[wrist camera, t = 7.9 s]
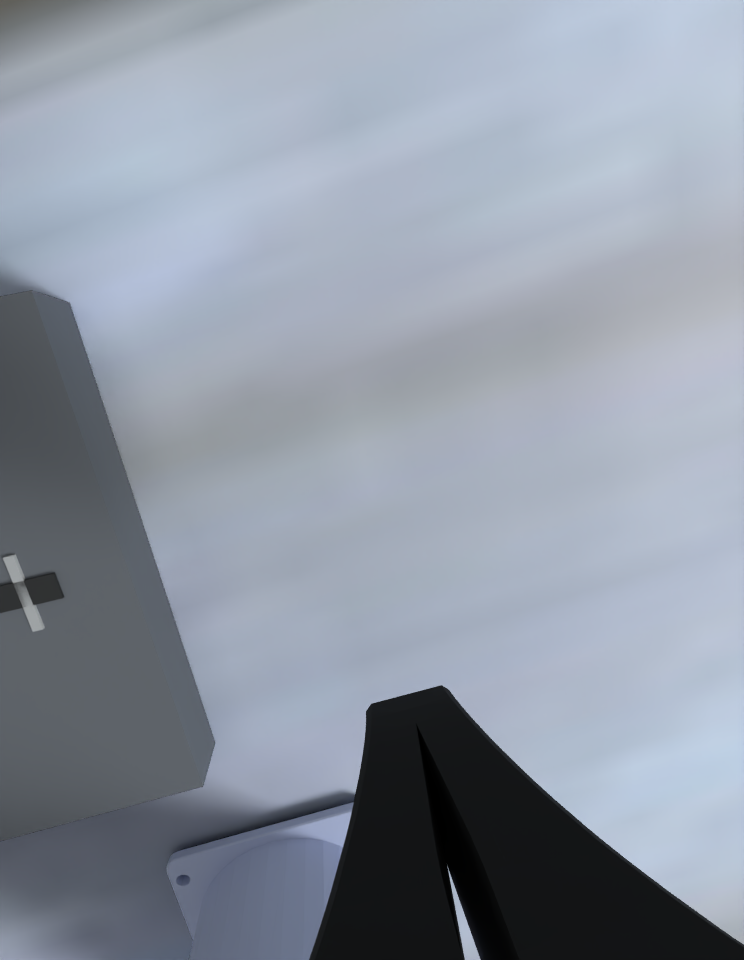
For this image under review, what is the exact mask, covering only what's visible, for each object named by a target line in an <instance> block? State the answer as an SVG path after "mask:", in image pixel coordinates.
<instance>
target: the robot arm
mask: <svg viewBox="0 0 744 960" xmlns="http://www.w3.org/2000/svg"><path fill="white" fill-rule="evenodd" d="M447 866H448V868H449V871H450V874H451V877H452V880H453V883H454V885H455V888H456V891H457V894H458V897H459V900H460V902H461V905H462V908H463V911H464V914H465V917H466V919H467V922H468V925H469V928H470V931H471V933H472V936H473V939H474V942H475V945H476V948H477V950H478V953H479V956H480V959H481V960H744V945H743V944H742V943H740V942H739V941H737V940H736V939H734V938H733V937H731V936H730V935H728V934H727V933H726V932H724V931H723V930H721V929H720V928H719V927H717V926H716V925H714V924H713V923H712V922H710V921H709V920H707V919H706V918H705V917H703V916H702V915H700V914H699V913H698V912H696V911H695V910H694V909H692V908H691V907H689V906H688V905H687V904H685V903H684V902H682V901H681V900H680V899H678V898H677V897H675V896H674V895H673V894H671V893H670V892H669V891H667V890H666V889H665V888H663V887H662V886H661V885H659V884H658V883H657V882H655V881H654V880H653V879H651V878H650V877H649V876H647V875H646V874H645V873H644V872H642V871H641V870H640V869H638V868H637V867H636V866H634V865H633V864H632V863H630V862H629V861H628V860H626V859H625V858H624V857H623V856H621V855H620V854H619V853H618V852H616V851H615V850H614V849H613V848H611V847H610V846H609V845H608V844H606V843H605V842H604V841H603V840H601V839H600V838H599V837H598V836H597V835H595V834H594V833H593V832H592V831H591V830H589V829H588V828H587V827H586V826H585V825H583V824H582V823H581V822H580V821H579V820H578V819H576V818H575V817H574V816H573V815H572V814H571V813H570V812H568V811H567V810H566V809H565V808H564V807H563V806H561V805H560V804H559V803H558V802H557V801H556V800H554V799H553V798H552V797H551V796H550V795H549V794H548V793H547V792H546V791H545V790H543V789H542V788H541V787H540V786H539V785H538V784H537V783H536V782H535V781H534V780H533V779H531V778H530V777H529V776H528V775H527V774H526V773H525V772H524V771H523V770H522V769H521V768H520V767H519V766H518V765H517V764H516V763H515V762H514V761H513V760H512V759H511V758H510V757H509V756H508V755H507V754H506V753H505V752H504V751H502V749H501V748H500V747H499V746H498V745H497V744H496V743H495V742H494V741H493V740H492V739H491V738H490V737H489V736H488V735H487V734H486V733H485V732H484V731H483V730H482V729H481V728H480V726H479V725H478V724H477V723H476V722H475V721H474V720H473V719H472V718H471V717H470V715H469V714H468V713H467V712H466V711H465V710H464V708H463V707H462V706H461V705H460V704H459V702H458V701H457V700H456V699H455V697H454V696H453V695H452V694H451V692H450V691H449V690H448V689H447V688H445V687H443V686H442V685H441V686H437V687H433V688H430V689H426V690H422V691H418V692H414V693H411V694H407V695H403V696H399V697H396V698H392V699H388V700H384V701H381V702H377V703H373V704H371V705H370V707H369V708H368V710H367V711H366V733H365V743H364V750H363V757H362V763H361V769H360V775H359V780H358V784H357V789H356V794H355V799H354V802H352V803H349V804H345V805H341V806H338V807H334V808H331V809H327V810H324V811H320V812H316V813H313V814H309V815H306V816H302V817H298V818H295V819H291V820H288V821H284V822H281V823H277V824H273V825H270V826H266V827H263V828H259V829H255V830H252V831H248V832H245V833H241V834H238V835H234V836H230V837H227V838H223V839H220V840H216V841H213V842H209V843H205V844H202V845H198V846H195V847H191V848H187V849H184V850H180V851H177V852H175V853H173V854H172V855H171V856H170V858H169V861H168V864H167V867H166V871H167V875H168V877H169V880H170V883H171V885H172V888H173V890H174V893H175V895H176V898H177V901H178V903H179V906H180V908H181V911H182V914H183V916H184V919H185V921H186V924H187V927H188V929H189V932H190V934H191V937H192V940H193V944H192V949H191V953H190V958H189V960H465V959H464V953H463V948H462V943H461V937H460V932H459V926H458V921H457V916H456V910H455V905H454V900H453V894H452V889H451V884H450V878H449V873H448V868H447ZM184 875H185V876H184Z"/></svg>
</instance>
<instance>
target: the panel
mask: <svg viewBox="0 0 744 960" xmlns="http://www.w3.org/2000/svg"><path fill="white" fill-rule="evenodd" d="M214 746H215V740H214V737H213V734H212V731H211V728H210V725H209V722H208V719H207V716H206V713H205V710H204V707H203V704H202V701H201V698H200V695H199V692H198V689H197V686H196V683H195V680H194V677H193V674H192V671H191V668H190V665H189V662H188V659H187V656H186V653H185V650H184V647H183V644H182V641H181V638H180V635H179V632H178V629H177V626H176V623H175V620H174V617H173V614H172V611H171V608H170V605H169V602H168V599H167V596H166V593H165V589H164V586H163V583H162V580H161V577H160V574H159V571H158V568H157V565H156V562H155V559H154V556H153V553H152V550H151V547H150V544H149V541H148V538H147V535H146V532H145V529H144V526H143V523H142V520H141V517H140V514H139V511H138V508H137V505H136V502H135V499H134V496H133V493H132V490H131V487H130V484H129V481H128V478H127V475H126V472H125V469H124V466H123V463H122V460H121V457H120V454H119V451H118V448H117V445H116V442H115V438H114V435H113V432H112V429H111V426H110V423H109V420H108V417H107V414H106V411H105V408H104V405H103V402H102V399H101V396H100V393H99V390H98V387H97V384H96V381H95V378H94V375H93V372H92V369H91V366H90V363H89V360H88V357H87V354H86V351H85V348H84V345H83V342H82V339H81V336H80V333H79V330H78V327H77V324H76V321H75V318H74V315H73V312H72V309H71V306H70V303H69V302H66V301H63V300H59V299H56V298H53V297H50V296H47V295H44V294H41V293H38V292H35V291H32V290H31V291H26V292H21V293H15V294H10V295H5V296H0V841H4V840H7V839H11V838H15V837H18V836H22V835H26V834H29V833H33V832H37V831H41V830H44V829H48V828H52V827H55V826H59V825H63V824H66V823H70V822H74V821H77V820H81V819H85V818H89V817H92V816H96V815H100V814H103V813H107V812H111V811H114V810H118V809H122V808H125V807H129V806H133V805H137V804H140V803H144V802H148V801H151V800H155V799H159V798H162V797H166V796H170V795H173V794H177V793H181V792H185V791H188V790H192V789H196V788H199V787H203V785H204V782H205V778H206V775H207V771H208V767H209V764H210V760H211V756H212V753H213V749H214Z"/></svg>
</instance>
